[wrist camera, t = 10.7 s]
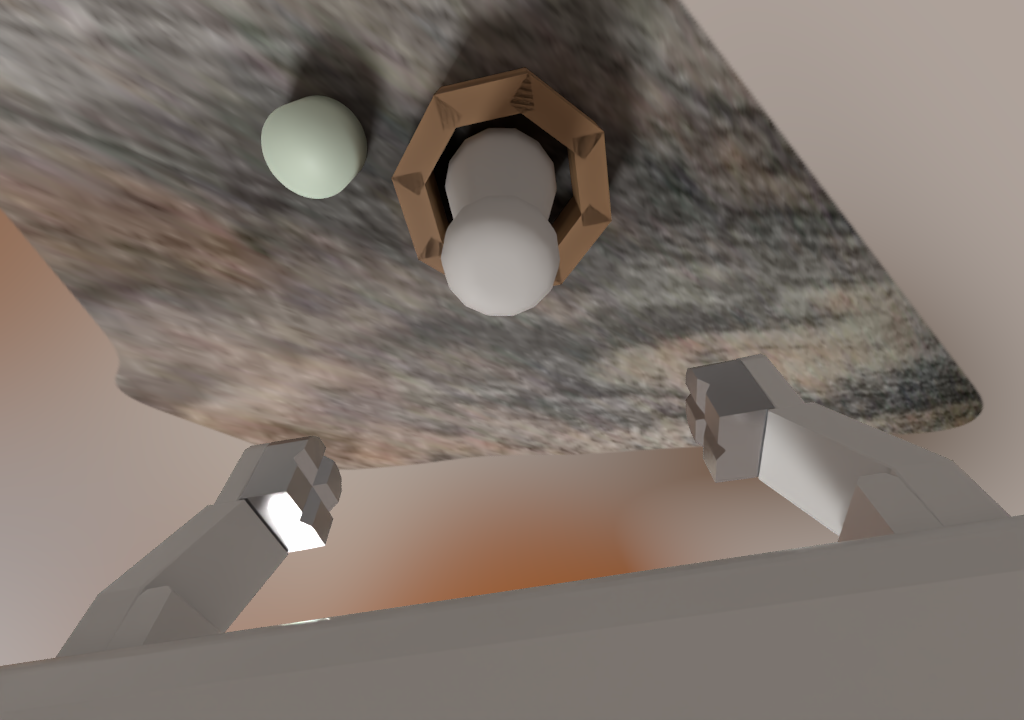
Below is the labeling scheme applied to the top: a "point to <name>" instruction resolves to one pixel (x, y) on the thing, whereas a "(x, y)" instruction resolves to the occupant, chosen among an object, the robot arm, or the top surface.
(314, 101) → the smooth pale green pebble
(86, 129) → the top surface
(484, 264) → the salt shaker
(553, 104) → the walnut ring
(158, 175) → the top surface
